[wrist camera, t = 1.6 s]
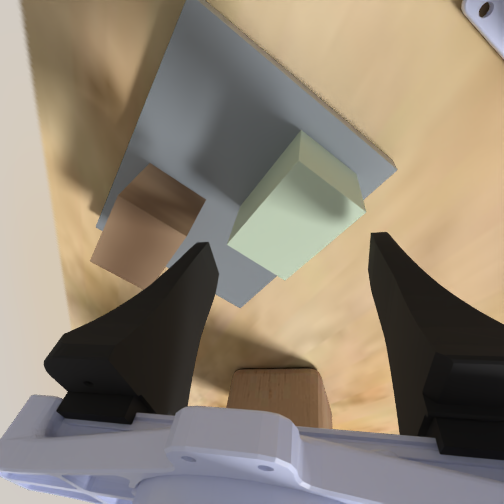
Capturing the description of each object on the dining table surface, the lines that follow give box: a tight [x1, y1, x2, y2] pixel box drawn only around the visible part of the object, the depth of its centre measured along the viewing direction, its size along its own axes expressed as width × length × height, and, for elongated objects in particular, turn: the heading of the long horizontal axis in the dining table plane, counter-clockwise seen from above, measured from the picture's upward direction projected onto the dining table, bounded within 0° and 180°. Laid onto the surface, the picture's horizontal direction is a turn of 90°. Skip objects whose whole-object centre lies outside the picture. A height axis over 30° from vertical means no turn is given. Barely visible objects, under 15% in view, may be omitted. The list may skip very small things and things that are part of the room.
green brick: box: [227, 130, 366, 280], centre depth 17 cm, size 4×6×4 cm, turn 146°
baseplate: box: [96, 0, 397, 308], centre depth 20 cm, size 13×16×1 cm
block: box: [226, 369, 332, 429], centre depth 29 cm, size 10×10×20 cm
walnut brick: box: [90, 163, 206, 290], centre depth 19 cm, size 4×6×4 cm, turn 146°
